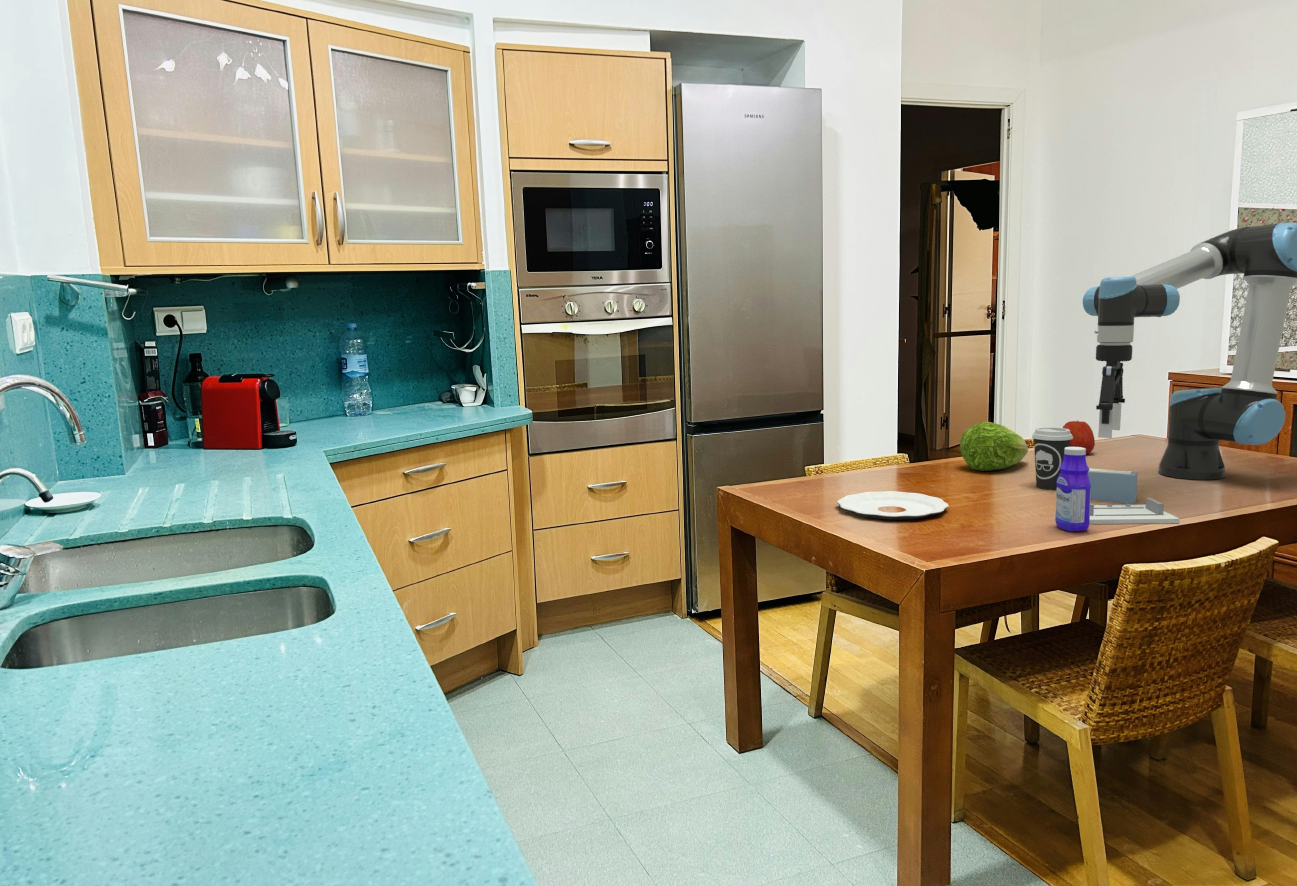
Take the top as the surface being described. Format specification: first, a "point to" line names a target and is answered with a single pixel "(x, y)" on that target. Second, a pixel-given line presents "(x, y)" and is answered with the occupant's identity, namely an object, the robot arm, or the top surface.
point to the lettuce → (991, 447)
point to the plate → (892, 504)
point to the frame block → (1113, 485)
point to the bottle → (1073, 491)
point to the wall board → (1131, 514)
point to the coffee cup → (1049, 454)
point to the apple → (1081, 435)
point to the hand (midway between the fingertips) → (1109, 433)
